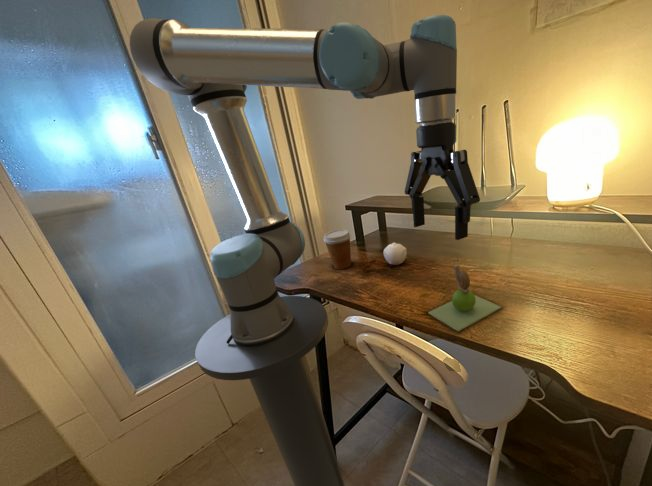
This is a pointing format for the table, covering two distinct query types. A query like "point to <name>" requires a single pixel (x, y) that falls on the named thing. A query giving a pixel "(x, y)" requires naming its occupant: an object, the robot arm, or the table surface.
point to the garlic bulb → (395, 253)
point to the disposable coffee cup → (339, 248)
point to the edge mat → (463, 313)
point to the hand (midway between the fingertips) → (438, 231)
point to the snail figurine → (462, 291)
